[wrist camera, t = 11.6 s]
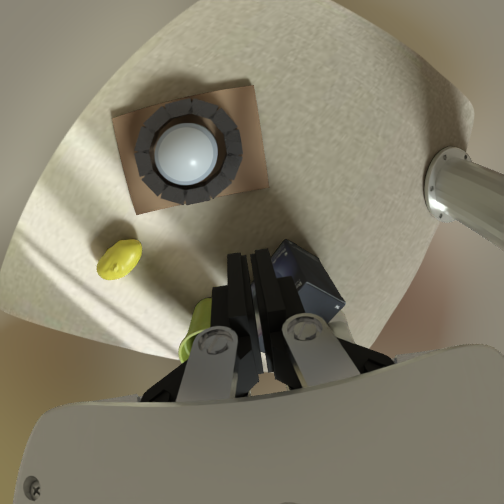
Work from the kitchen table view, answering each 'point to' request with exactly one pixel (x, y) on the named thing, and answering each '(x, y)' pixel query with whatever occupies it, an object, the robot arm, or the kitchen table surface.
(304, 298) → the small box
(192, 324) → the plant pot
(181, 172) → the cap
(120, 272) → the lemon
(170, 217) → the kitchen table surface
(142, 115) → the board
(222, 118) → the segmented ring
